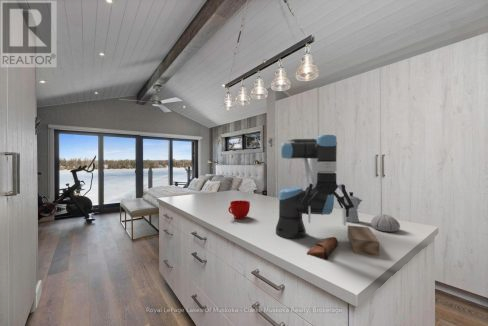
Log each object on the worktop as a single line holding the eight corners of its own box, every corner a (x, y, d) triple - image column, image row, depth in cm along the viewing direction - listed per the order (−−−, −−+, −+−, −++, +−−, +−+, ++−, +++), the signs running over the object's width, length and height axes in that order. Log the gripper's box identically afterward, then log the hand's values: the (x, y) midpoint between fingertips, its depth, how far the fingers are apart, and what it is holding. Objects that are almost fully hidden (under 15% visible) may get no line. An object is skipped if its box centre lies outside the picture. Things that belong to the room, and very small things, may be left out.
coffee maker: (364, 221, 129) (364, 192, 129) (360, 224, 123) (361, 194, 122) (338, 217, 139) (339, 190, 139) (334, 219, 132) (334, 191, 132)
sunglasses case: (318, 240, 98) (326, 229, 96) (332, 251, 94) (340, 240, 92) (305, 254, 83) (314, 242, 81) (320, 268, 80) (330, 255, 78)
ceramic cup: (221, 218, 134) (221, 203, 134) (239, 213, 147) (239, 199, 147) (236, 222, 125) (236, 206, 125) (253, 217, 138) (253, 202, 138)
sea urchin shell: (368, 229, 114) (368, 215, 114) (372, 224, 124) (373, 210, 124) (398, 235, 105) (399, 219, 105) (400, 229, 115) (400, 214, 115)
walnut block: (353, 253, 85) (353, 238, 85) (347, 237, 103) (347, 225, 103) (379, 256, 82) (379, 241, 82) (368, 239, 100) (368, 227, 100)
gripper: (295, 172, 86) (295, 223, 86) (362, 173, 80) (362, 228, 80) (295, 171, 94) (295, 218, 94) (357, 172, 87) (356, 223, 87)
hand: (326, 223), depth 87 cm, fingers open, 13 cm apart
